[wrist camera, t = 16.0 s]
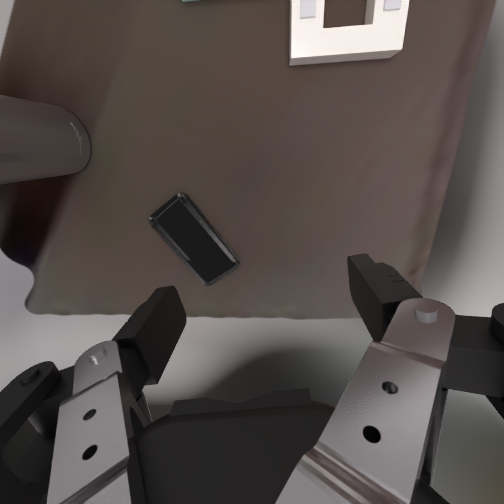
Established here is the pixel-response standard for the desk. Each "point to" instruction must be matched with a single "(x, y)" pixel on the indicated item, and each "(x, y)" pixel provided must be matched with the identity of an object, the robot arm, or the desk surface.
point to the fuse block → (346, 33)
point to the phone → (194, 239)
